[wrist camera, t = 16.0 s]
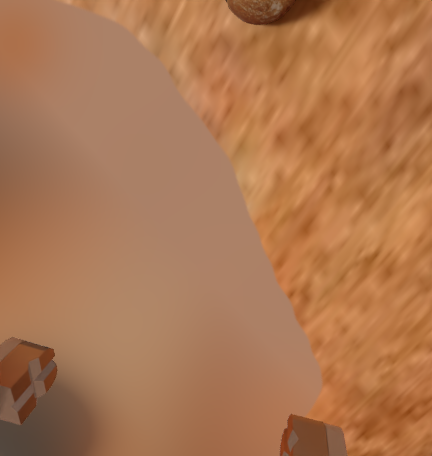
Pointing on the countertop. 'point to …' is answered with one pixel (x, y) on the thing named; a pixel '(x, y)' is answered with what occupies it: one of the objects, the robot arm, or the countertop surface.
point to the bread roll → (259, 10)
